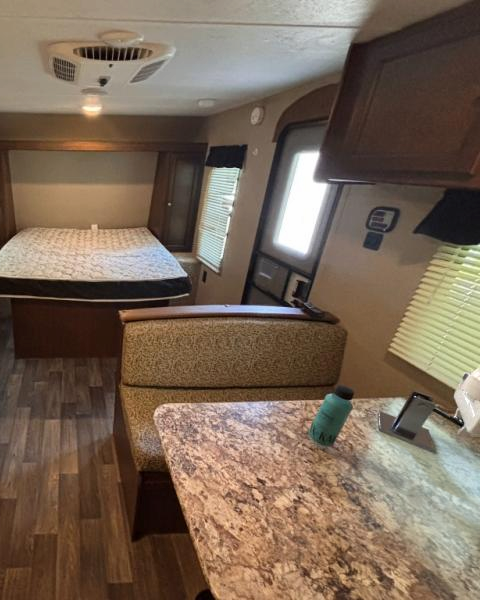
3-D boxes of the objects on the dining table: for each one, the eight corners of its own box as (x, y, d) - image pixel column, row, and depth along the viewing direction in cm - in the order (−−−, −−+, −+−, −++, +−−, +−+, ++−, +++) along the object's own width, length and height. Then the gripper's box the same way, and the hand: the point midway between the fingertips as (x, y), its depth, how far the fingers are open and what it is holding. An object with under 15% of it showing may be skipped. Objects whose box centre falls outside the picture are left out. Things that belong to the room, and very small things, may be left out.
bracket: (427, 432, 99) (450, 398, 94) (431, 452, 92) (457, 416, 87) (377, 413, 106) (396, 380, 101) (378, 430, 99) (398, 396, 93)
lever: (459, 424, 92) (467, 419, 91) (463, 434, 89) (471, 429, 87) (411, 396, 97) (418, 392, 96) (413, 405, 94) (420, 400, 92)
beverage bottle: (309, 429, 98) (334, 377, 90) (335, 443, 93) (363, 390, 85) (302, 440, 94) (327, 386, 86) (328, 455, 89) (357, 400, 81)
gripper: (520, 418, 76) (484, 458, 82) (495, 379, 90) (466, 415, 96) (481, 405, 79) (450, 444, 85) (463, 369, 94) (438, 404, 100)
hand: (459, 428), depth 91 cm, fingers closed on lever, 5 cm apart
